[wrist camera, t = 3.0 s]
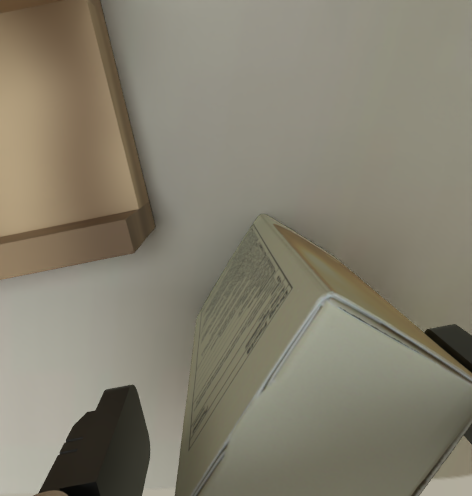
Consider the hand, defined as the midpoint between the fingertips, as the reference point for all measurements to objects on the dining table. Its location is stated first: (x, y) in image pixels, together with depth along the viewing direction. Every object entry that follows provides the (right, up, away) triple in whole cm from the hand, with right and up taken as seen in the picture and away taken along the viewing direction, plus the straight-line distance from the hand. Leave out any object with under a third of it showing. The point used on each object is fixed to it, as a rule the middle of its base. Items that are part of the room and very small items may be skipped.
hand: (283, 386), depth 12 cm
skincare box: (0, +2, +9) cm, 9 cm away
